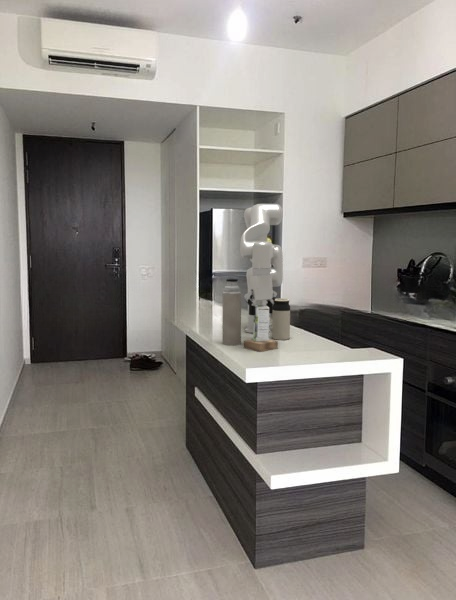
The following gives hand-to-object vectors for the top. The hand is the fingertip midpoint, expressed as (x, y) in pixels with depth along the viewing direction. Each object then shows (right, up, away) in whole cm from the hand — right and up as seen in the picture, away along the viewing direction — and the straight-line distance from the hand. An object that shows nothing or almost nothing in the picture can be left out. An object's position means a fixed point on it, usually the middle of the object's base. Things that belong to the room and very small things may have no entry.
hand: (260, 314), depth 220 cm
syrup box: (0, -11, +2) cm, 11 cm away
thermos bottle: (-12, -13, +11) cm, 21 cm away
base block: (0, -14, +2) cm, 14 cm away
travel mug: (+11, -12, +23) cm, 28 cm away
